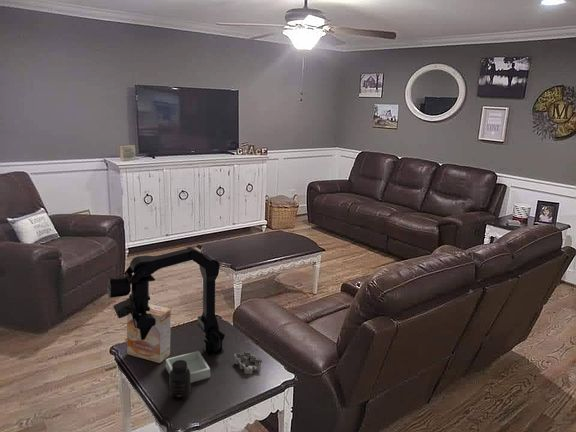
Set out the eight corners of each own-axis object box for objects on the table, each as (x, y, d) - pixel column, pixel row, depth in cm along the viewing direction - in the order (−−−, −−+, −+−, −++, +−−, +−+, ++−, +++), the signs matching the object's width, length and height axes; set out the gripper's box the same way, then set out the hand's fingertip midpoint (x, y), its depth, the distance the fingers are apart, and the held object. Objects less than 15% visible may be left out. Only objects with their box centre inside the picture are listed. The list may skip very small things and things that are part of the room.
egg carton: (263, 370, 163) (263, 361, 161) (245, 376, 159) (245, 366, 157) (249, 356, 171) (250, 347, 170) (232, 361, 167) (232, 352, 166)
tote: (198, 358, 167) (198, 350, 166) (210, 377, 156) (210, 368, 156) (165, 367, 161) (165, 359, 160) (175, 387, 150) (175, 378, 149)
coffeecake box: (126, 354, 167) (125, 307, 162) (138, 345, 173) (138, 300, 169) (159, 363, 162) (160, 315, 158) (170, 354, 169) (171, 308, 164)
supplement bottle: (171, 388, 150) (171, 357, 146) (191, 388, 150) (191, 357, 147) (167, 401, 143) (167, 370, 140) (189, 401, 144) (188, 370, 140)
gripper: (110, 285, 154) (110, 325, 158) (121, 308, 139) (121, 351, 143) (142, 281, 160) (141, 320, 164) (156, 302, 145) (155, 344, 149)
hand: (139, 333), depth 155 cm, fingers open, 9 cm apart
